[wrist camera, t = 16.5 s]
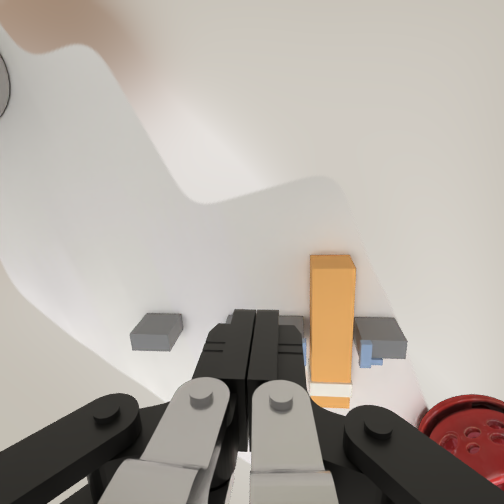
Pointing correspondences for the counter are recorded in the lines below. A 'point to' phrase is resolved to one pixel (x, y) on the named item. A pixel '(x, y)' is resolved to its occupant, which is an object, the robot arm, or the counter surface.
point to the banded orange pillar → (331, 329)
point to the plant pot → (470, 432)
